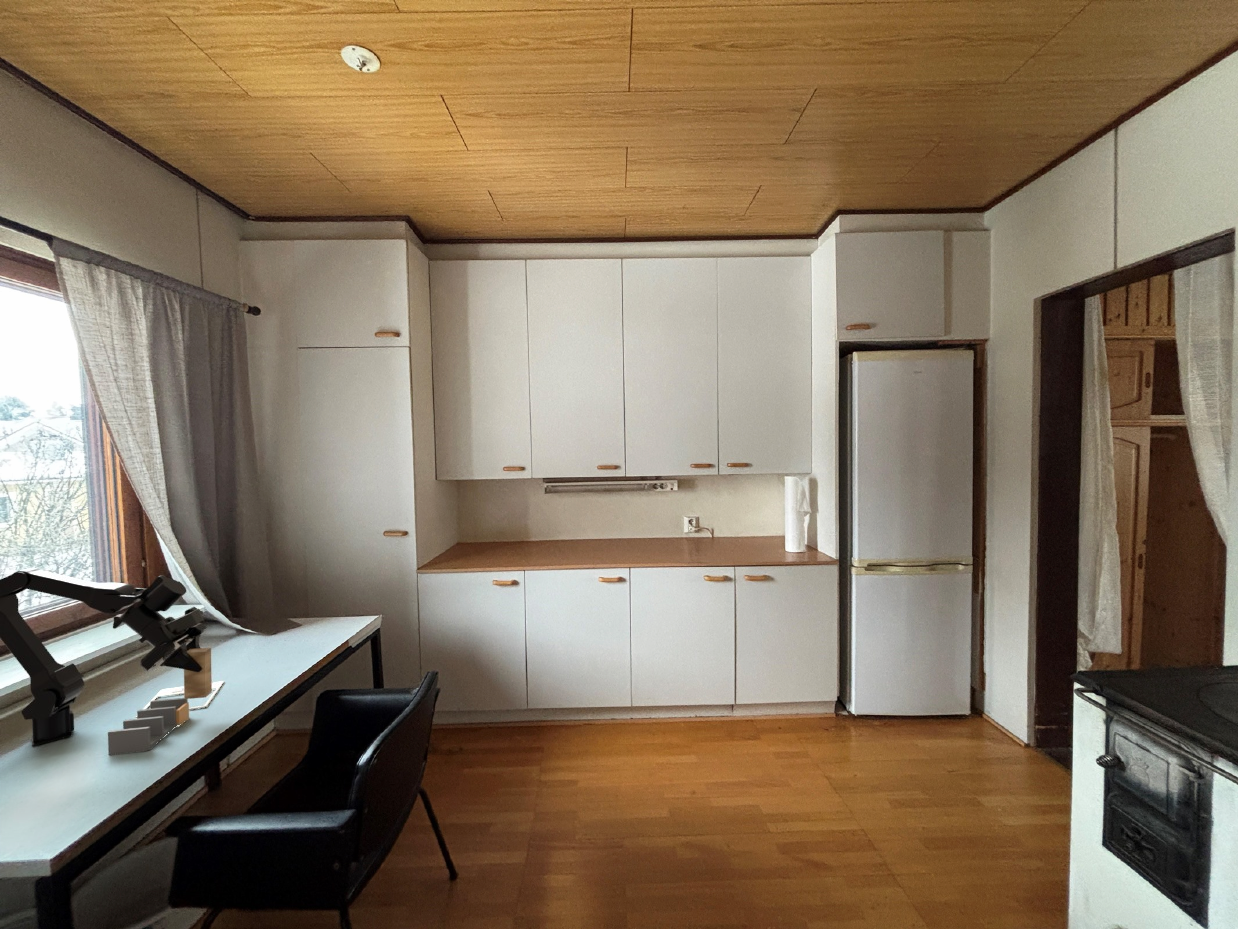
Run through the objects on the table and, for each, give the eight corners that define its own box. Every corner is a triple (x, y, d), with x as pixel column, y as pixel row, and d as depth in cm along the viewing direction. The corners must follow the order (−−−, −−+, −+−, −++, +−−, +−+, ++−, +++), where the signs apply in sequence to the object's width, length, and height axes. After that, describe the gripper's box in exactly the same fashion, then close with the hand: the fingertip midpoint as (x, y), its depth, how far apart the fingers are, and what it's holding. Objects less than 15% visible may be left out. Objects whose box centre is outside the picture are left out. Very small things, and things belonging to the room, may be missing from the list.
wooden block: (184, 699, 138) (183, 653, 138) (191, 694, 141) (190, 649, 141) (205, 697, 139) (204, 651, 139) (211, 692, 142) (210, 647, 142)
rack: (108, 755, 125) (107, 732, 125) (152, 720, 142) (152, 700, 141) (152, 750, 127) (151, 728, 127) (190, 717, 143) (190, 697, 143)
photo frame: (224, 680, 165) (206, 705, 148) (224, 684, 165) (206, 709, 148) (161, 688, 159) (135, 716, 143) (161, 692, 160) (135, 720, 143)
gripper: (155, 610, 130) (211, 656, 132) (197, 591, 148) (246, 631, 150) (115, 648, 128) (172, 693, 131) (163, 623, 147) (212, 664, 149)
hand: (204, 668), depth 140 cm, fingers closed on wooden block, 3 cm apart
